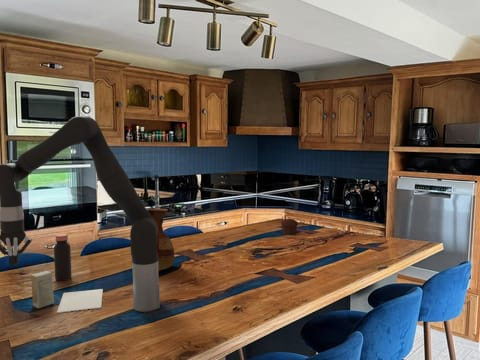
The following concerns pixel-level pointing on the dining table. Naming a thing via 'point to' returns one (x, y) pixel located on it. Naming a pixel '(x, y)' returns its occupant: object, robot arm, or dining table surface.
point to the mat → (80, 300)
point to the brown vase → (162, 240)
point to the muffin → (289, 226)
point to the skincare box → (42, 289)
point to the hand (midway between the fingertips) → (14, 265)
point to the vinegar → (62, 258)
